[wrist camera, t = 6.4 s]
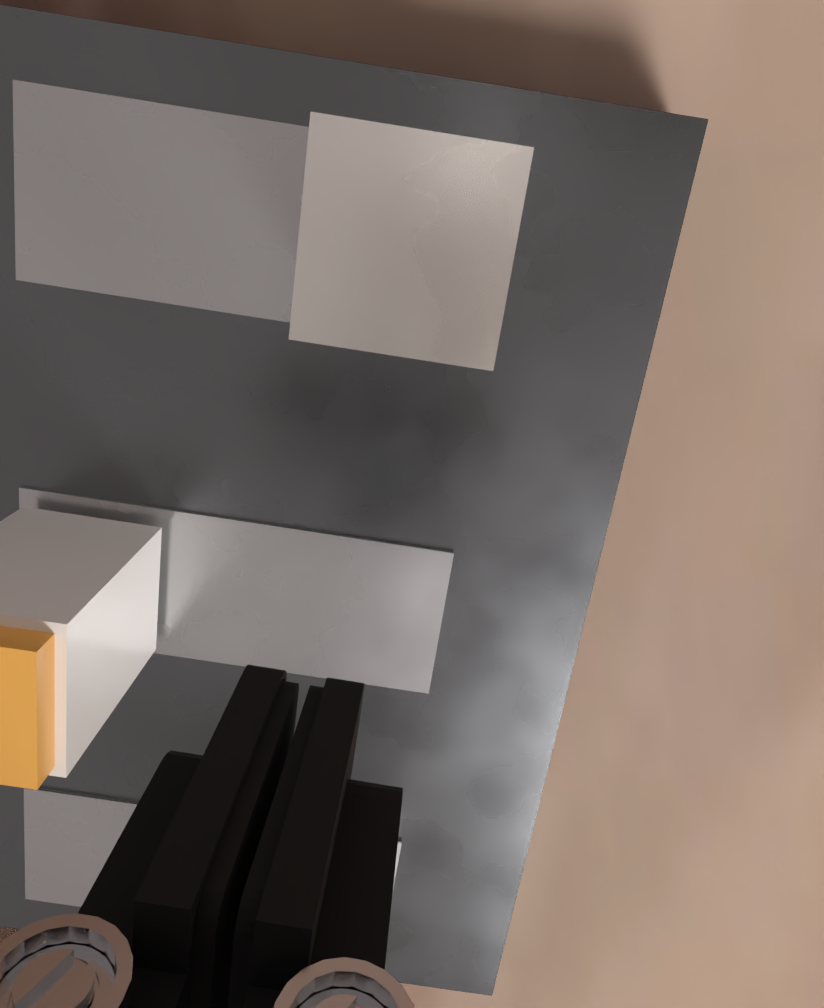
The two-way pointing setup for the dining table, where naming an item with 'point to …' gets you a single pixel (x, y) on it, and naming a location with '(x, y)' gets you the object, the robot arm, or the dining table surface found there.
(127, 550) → the toggle
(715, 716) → the dining table surface
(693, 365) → the dining table surface
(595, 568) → the panel
